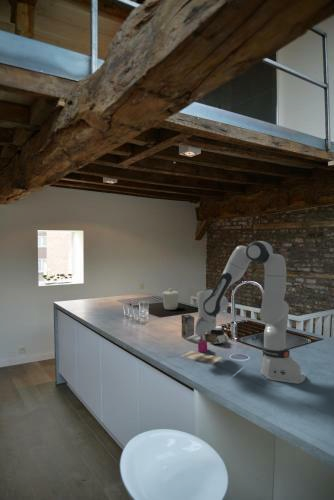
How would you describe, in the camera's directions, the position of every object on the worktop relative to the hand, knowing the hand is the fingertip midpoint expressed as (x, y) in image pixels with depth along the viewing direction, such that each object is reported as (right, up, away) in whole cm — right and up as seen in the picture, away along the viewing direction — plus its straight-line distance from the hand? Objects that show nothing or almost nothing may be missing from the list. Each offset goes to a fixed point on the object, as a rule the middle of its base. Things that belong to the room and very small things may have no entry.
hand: (206, 339), depth 204 cm
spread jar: (+13, -11, +32) cm, 36 cm away
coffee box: (-8, -11, +44) cm, 46 cm away
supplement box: (-1, -12, +14) cm, 19 cm away
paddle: (-2, -1, +1) cm, 3 cm away
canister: (-20, -7, +145) cm, 147 cm away
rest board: (-2, -12, +2) cm, 13 cm away
